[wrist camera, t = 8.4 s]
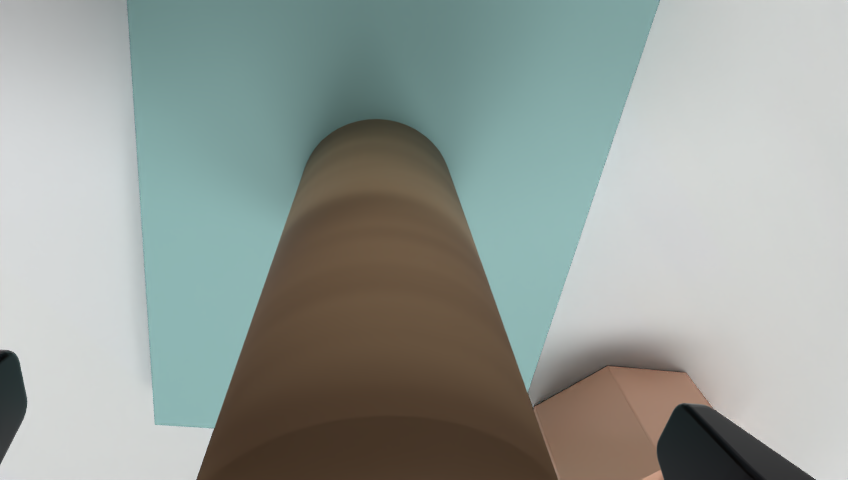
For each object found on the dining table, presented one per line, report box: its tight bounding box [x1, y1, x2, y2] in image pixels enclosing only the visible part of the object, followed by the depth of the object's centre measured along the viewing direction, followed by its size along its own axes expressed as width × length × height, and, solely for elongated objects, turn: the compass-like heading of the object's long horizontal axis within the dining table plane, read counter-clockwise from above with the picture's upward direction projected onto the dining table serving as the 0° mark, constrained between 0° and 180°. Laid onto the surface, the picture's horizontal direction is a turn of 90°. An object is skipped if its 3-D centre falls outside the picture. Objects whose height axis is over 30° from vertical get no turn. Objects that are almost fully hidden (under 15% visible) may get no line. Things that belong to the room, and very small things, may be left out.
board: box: [127, 0, 660, 428], centre depth 15 cm, size 18×12×2 cm, turn 170°
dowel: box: [196, 119, 558, 480], centre depth 10 cm, size 4×4×10 cm
